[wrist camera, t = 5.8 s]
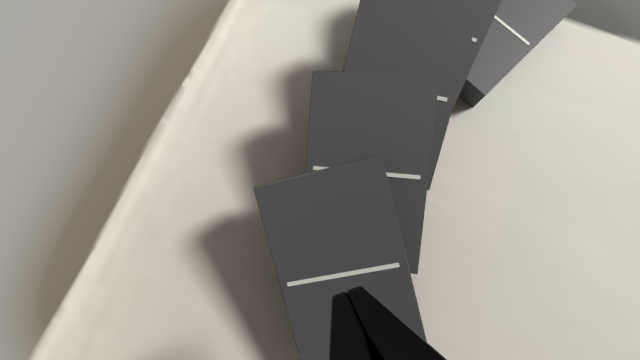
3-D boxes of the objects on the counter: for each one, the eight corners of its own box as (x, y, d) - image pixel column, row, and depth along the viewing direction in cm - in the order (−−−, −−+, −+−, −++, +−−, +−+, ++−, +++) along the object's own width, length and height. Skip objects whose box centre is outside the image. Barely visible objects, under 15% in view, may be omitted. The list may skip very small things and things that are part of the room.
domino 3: (432, 364, 12) (381, 156, 12) (305, 379, 13) (253, 188, 13) (425, 338, 14) (381, 154, 13) (313, 353, 15) (267, 182, 14)
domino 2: (417, 274, 14) (439, 75, 13) (299, 258, 15) (312, 70, 14) (413, 260, 15) (433, 82, 14) (308, 246, 16) (320, 78, 15)
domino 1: (429, 190, 15) (482, 4, 14) (321, 163, 16) (363, -15, 15) (424, 186, 17) (471, 19, 15) (327, 162, 17) (365, 1, 16)
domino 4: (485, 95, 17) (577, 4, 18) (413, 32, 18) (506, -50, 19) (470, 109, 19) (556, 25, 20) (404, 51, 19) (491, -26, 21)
